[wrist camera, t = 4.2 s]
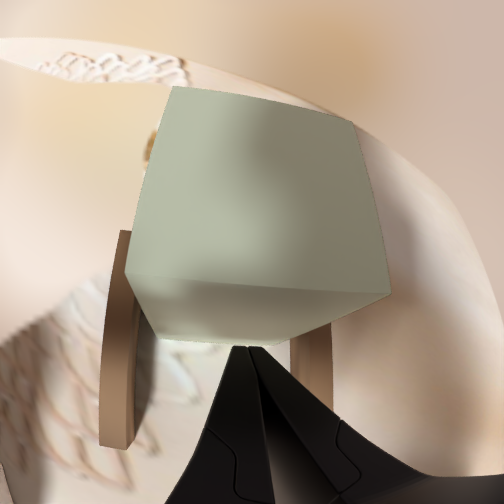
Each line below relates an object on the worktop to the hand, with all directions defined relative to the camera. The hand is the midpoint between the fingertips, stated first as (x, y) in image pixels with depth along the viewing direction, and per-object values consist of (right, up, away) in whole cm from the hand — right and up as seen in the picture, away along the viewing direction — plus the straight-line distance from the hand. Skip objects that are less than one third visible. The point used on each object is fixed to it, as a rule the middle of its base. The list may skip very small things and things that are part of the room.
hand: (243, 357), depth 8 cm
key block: (-2, +6, +10) cm, 12 cm away
